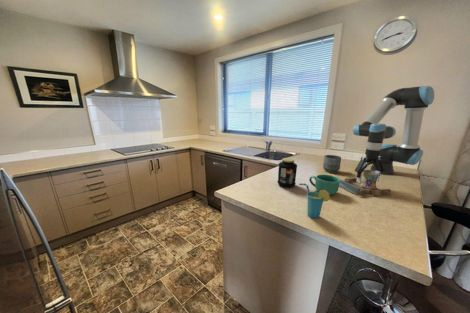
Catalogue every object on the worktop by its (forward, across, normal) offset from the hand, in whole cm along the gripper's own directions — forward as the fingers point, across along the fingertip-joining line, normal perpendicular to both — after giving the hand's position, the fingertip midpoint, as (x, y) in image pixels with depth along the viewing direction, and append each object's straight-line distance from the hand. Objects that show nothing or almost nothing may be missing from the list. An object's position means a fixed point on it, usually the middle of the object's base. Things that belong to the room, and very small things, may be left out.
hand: (367, 181), depth 117 cm
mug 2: (+4, -1, 0) cm, 4 cm away
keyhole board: (+4, +6, 0) cm, 7 cm away
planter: (+5, -1, -34) cm, 34 cm away
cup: (+4, +55, +21) cm, 59 cm away
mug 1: (+4, +32, -1) cm, 32 cm away
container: (+4, +49, -15) cm, 51 cm away
